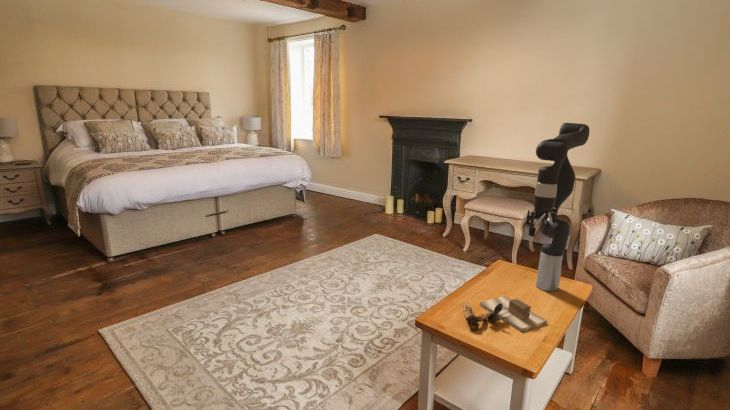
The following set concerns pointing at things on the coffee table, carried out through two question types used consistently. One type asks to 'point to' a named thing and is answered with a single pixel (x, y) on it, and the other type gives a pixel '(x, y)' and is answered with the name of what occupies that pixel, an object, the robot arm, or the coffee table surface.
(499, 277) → the coffee table surface
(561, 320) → the coffee table surface
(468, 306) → the lashed bone hook
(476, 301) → the coffee table surface
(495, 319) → the eagle figurine
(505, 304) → the birch board
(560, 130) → the robot arm
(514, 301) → the block
